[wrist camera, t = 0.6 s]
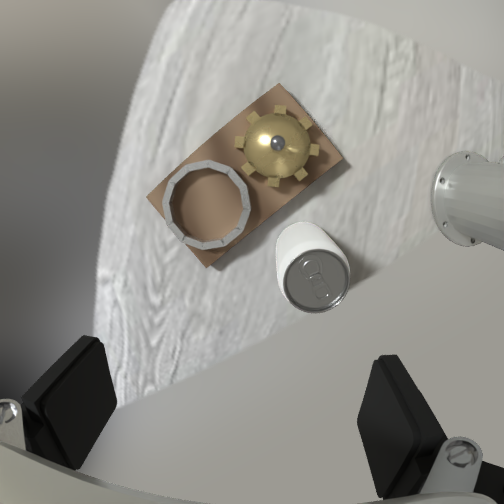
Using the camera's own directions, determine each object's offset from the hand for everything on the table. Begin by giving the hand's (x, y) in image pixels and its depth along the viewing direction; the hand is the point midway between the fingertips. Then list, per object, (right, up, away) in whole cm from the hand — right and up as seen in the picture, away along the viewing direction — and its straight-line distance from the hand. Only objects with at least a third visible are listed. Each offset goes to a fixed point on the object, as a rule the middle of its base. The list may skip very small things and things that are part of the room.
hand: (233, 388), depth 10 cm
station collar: (-4, +10, +25) cm, 27 cm away
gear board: (0, +13, +25) cm, 29 cm away
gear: (+3, +16, +23) cm, 28 cm away
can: (+7, +5, +27) cm, 29 cm away
